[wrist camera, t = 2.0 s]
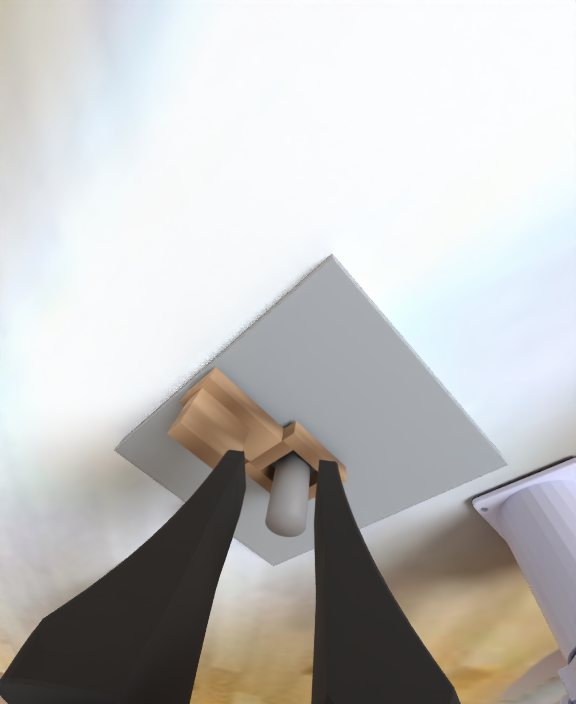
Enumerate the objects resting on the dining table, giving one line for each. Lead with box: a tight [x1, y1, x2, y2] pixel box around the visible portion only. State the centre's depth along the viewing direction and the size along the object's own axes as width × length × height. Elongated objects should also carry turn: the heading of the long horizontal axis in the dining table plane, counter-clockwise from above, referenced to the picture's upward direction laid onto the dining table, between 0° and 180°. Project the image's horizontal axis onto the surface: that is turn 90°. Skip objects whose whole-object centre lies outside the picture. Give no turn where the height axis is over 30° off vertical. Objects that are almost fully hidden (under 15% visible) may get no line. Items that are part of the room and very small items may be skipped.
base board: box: [114, 254, 508, 566], centre depth 21 cm, size 18×22×6 cm
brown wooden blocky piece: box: [167, 367, 347, 501], centre depth 20 cm, size 11×5×4 cm, turn 43°
